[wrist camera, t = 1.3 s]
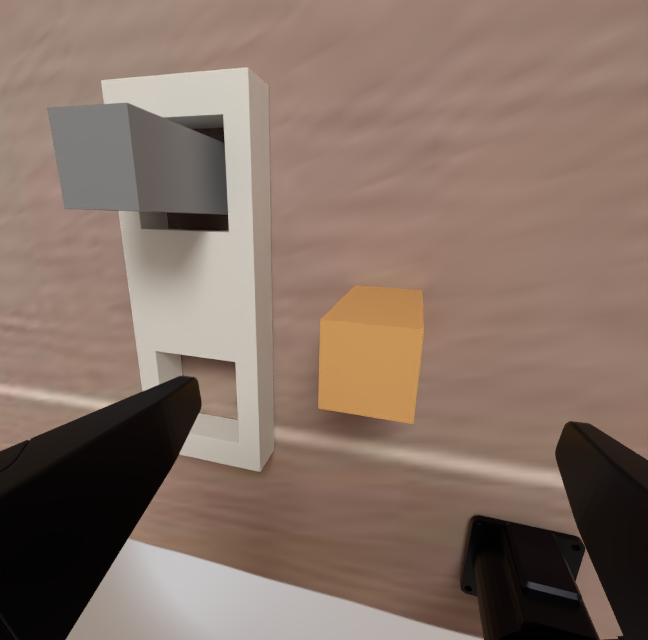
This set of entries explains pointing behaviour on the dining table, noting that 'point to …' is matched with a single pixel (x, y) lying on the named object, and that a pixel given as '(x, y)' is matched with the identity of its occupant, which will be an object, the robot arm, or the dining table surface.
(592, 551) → the robot arm
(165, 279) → the white slotted frame
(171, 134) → the gray plug
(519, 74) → the dining table surface
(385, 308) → the orange plug
